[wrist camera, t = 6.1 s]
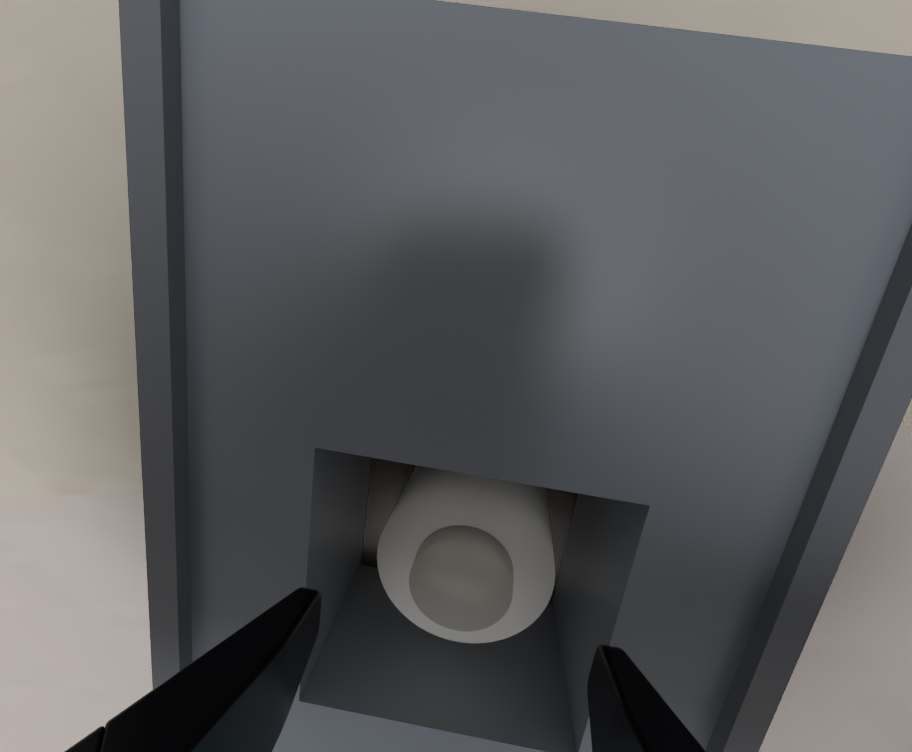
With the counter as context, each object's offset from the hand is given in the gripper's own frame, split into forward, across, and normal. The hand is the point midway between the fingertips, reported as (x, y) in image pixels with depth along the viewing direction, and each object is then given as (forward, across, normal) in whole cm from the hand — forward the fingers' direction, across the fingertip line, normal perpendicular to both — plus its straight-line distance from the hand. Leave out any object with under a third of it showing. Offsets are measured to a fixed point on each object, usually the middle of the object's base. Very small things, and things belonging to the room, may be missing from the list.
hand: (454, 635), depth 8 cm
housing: (+5, 0, +2) cm, 5 cm away
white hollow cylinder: (+5, 0, 0) cm, 5 cm away
